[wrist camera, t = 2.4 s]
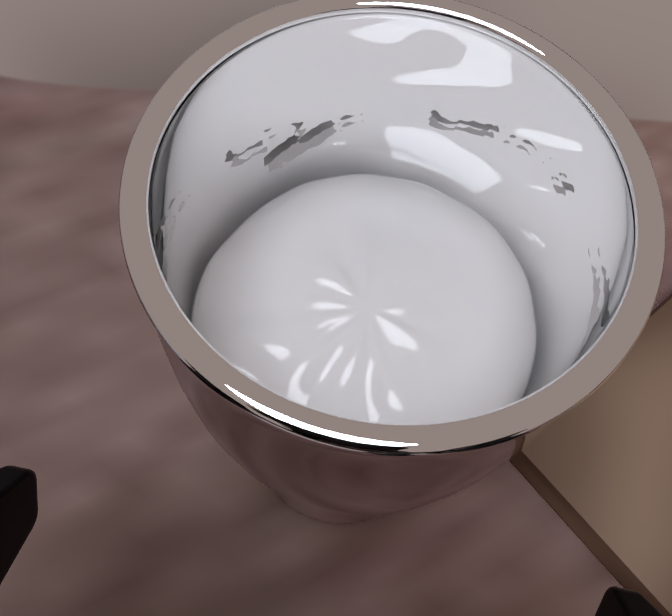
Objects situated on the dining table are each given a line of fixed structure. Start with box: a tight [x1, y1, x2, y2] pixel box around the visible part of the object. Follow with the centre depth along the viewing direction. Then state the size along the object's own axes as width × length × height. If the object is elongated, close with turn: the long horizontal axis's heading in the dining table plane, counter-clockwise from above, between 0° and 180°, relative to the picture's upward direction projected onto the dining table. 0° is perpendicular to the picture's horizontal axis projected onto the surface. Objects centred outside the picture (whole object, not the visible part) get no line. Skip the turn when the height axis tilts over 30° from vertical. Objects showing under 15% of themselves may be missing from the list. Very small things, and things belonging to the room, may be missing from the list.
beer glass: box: [119, 0, 666, 524], centre depth 14 cm, size 7×7×15 cm
